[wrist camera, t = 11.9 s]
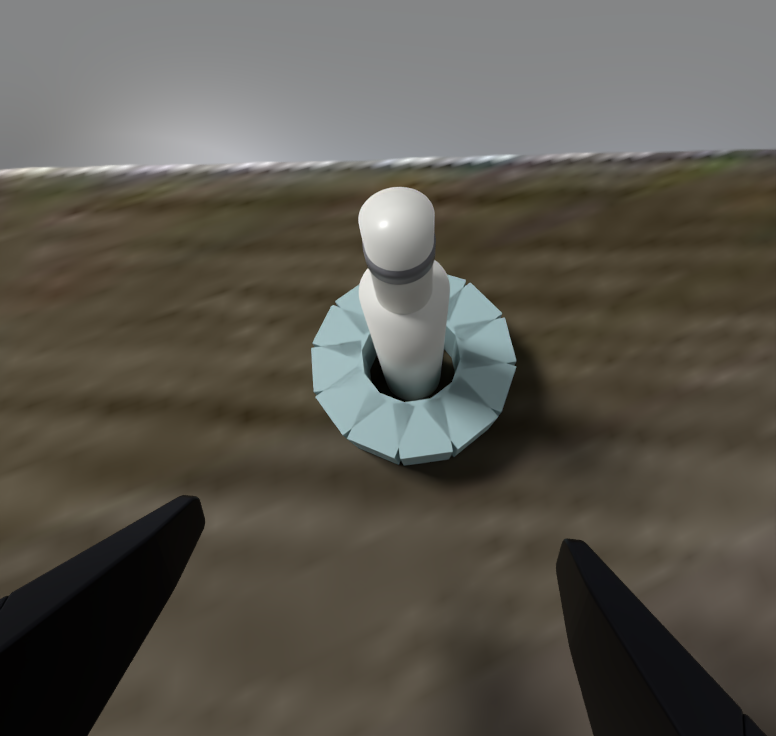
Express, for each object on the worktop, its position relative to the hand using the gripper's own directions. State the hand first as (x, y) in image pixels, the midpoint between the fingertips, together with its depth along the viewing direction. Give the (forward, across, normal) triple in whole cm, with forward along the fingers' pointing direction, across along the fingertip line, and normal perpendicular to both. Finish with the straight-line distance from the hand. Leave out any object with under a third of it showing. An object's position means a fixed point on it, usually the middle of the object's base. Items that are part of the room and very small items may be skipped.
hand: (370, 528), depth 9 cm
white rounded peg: (+13, 0, +2) cm, 13 cm away
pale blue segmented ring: (+13, 0, +2) cm, 13 cm away
